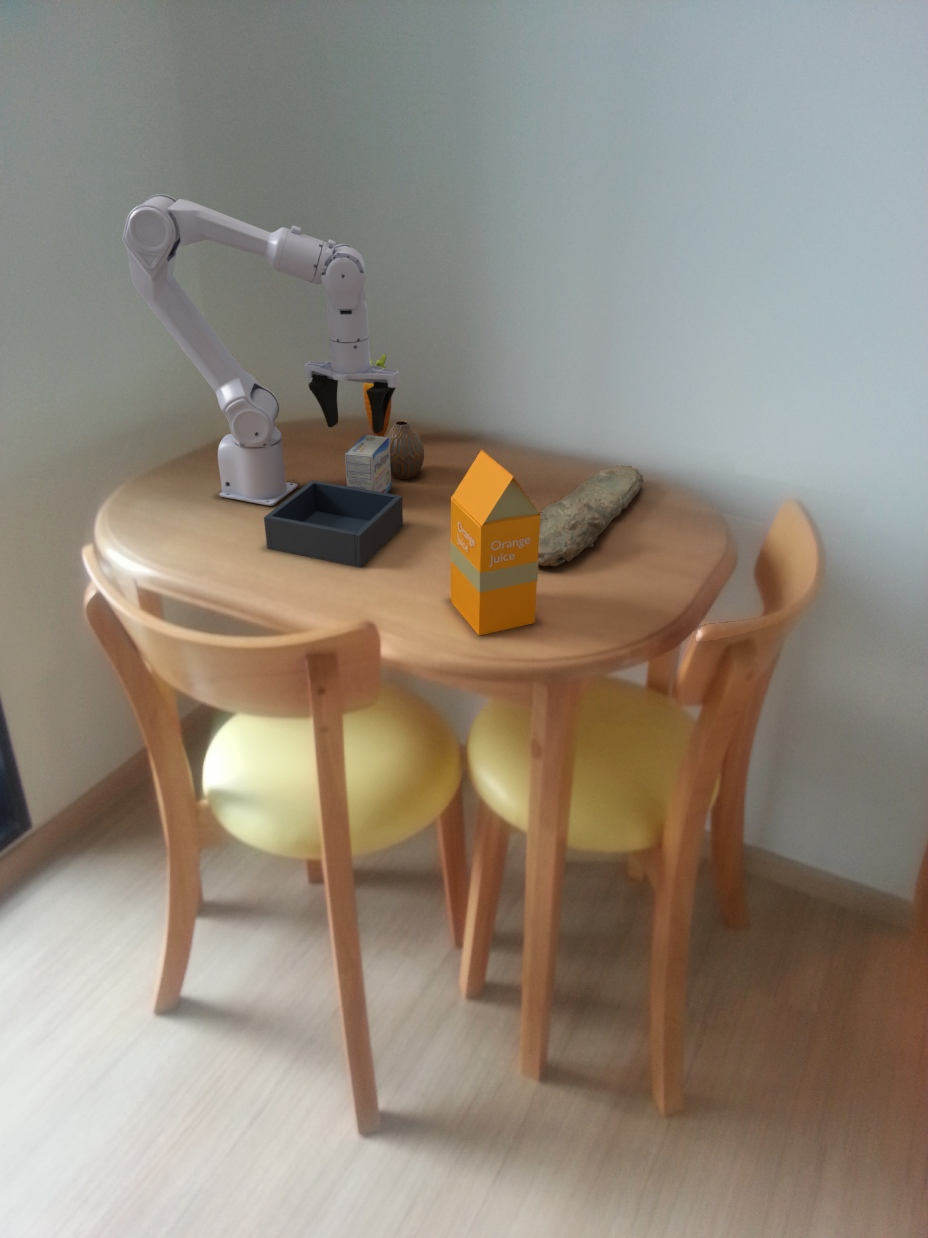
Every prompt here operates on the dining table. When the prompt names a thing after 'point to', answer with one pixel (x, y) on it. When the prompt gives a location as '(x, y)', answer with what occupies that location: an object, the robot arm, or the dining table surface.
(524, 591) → the orange juice
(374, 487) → the medicine box
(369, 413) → the carrot
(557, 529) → the elongated rock
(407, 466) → the vase
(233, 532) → the dining table surface
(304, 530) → the basket
